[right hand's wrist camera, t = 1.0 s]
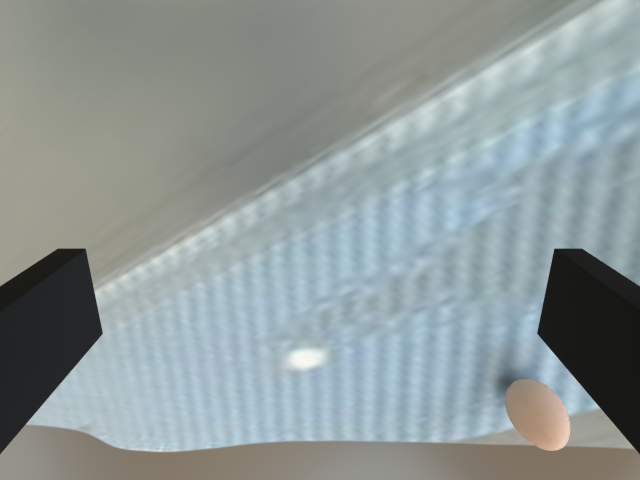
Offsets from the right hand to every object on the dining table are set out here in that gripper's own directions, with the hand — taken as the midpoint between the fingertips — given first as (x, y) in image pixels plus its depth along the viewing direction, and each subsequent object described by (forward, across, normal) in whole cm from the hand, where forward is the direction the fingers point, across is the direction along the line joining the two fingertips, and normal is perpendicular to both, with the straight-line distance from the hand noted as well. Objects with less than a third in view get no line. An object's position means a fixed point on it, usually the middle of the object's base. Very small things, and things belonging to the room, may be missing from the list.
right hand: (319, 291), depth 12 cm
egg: (+28, +22, -26) cm, 44 cm away
